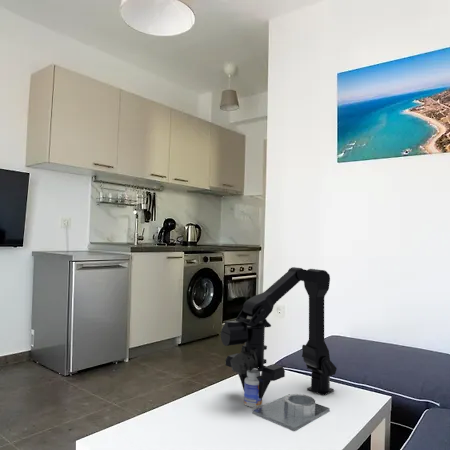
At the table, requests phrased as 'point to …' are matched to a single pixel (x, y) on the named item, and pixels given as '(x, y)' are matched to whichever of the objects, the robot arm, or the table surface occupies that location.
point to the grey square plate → (292, 411)
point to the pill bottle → (252, 389)
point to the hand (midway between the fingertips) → (253, 395)
